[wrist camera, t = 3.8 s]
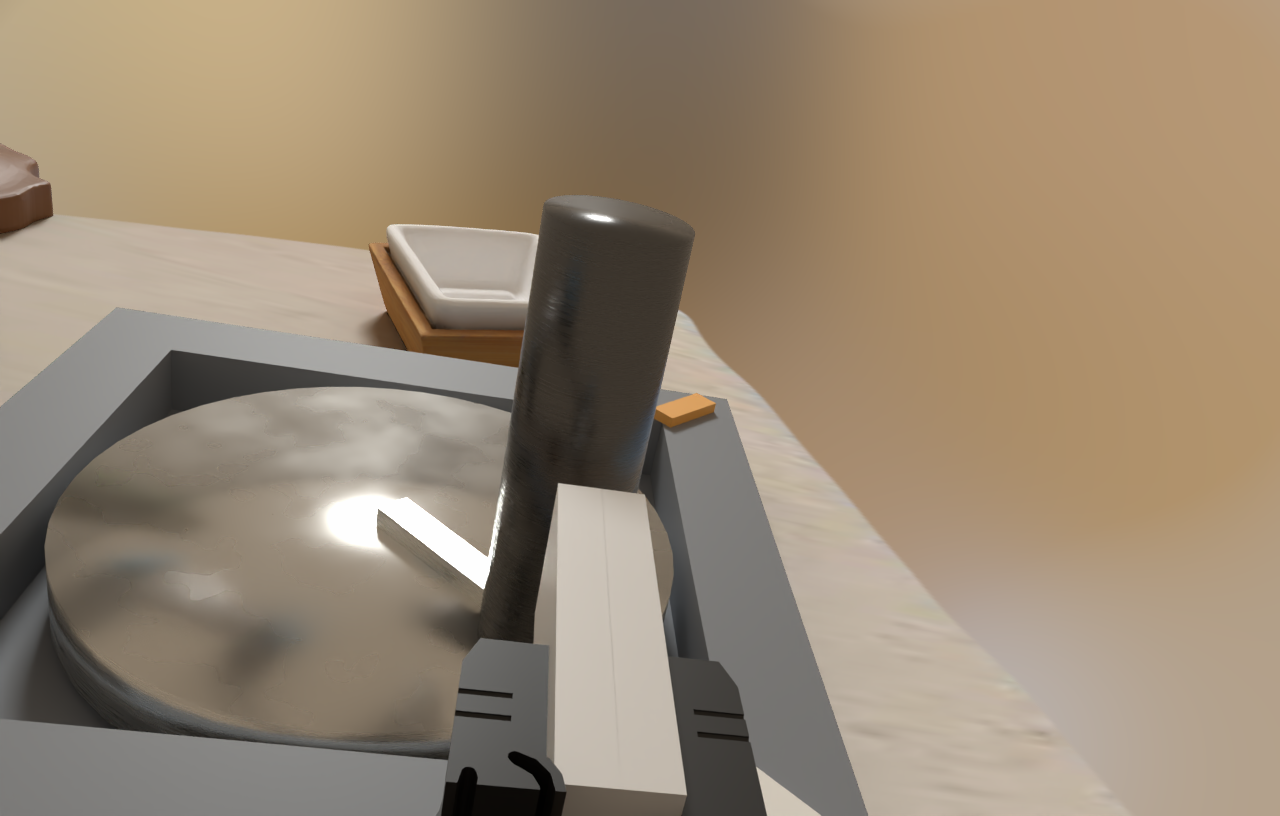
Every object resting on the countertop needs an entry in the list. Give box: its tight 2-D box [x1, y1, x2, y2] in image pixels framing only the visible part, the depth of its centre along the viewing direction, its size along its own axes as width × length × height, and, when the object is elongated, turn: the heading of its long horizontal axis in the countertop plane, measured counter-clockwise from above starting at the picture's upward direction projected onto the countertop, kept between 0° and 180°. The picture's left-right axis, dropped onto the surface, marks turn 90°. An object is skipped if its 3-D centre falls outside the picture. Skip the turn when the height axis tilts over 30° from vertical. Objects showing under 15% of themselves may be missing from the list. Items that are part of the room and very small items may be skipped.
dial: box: [44, 195, 695, 760], centre depth 27 cm, size 17×17×13 cm
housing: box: [0, 308, 868, 816], centre depth 30 cm, size 24×24×4 cm
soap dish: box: [369, 224, 539, 368], centre depth 50 cm, size 12×10×5 cm
